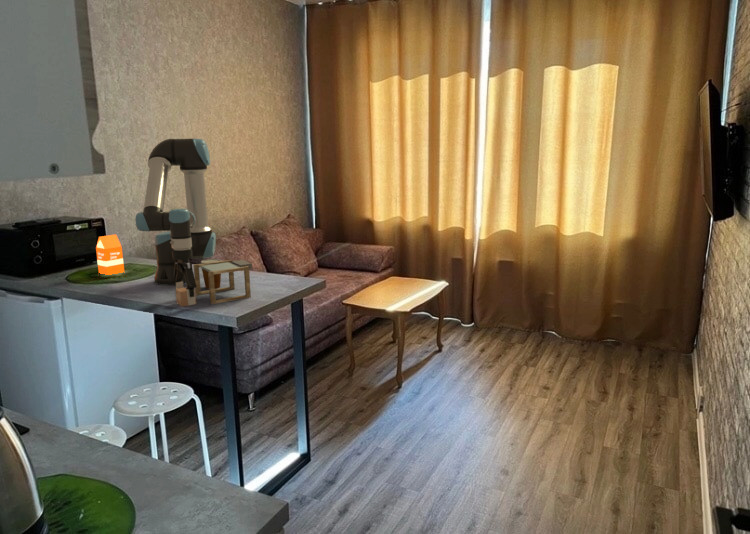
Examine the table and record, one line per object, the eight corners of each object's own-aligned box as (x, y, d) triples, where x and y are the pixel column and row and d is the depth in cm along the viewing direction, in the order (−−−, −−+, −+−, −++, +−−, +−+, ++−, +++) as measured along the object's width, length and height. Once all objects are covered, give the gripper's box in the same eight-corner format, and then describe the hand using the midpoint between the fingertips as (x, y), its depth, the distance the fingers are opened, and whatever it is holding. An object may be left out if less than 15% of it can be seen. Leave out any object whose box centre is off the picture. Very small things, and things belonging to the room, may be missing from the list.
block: (176, 303, 225) (175, 289, 224) (191, 300, 229) (190, 286, 228) (181, 306, 221) (180, 292, 219) (196, 304, 224) (195, 289, 223)
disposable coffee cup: (222, 289, 246) (221, 262, 244) (200, 290, 245) (198, 263, 242) (225, 284, 255) (223, 258, 253) (203, 285, 254) (201, 259, 251)
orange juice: (99, 276, 272) (94, 236, 268) (116, 273, 279) (111, 233, 275) (108, 279, 268) (103, 237, 263) (125, 275, 275) (120, 235, 270)
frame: (195, 294, 238) (193, 264, 235) (233, 288, 248) (231, 259, 245) (211, 304, 223) (209, 272, 221) (250, 297, 233) (249, 266, 230)
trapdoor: (201, 269, 236) (200, 264, 235) (240, 264, 246) (240, 259, 245) (213, 276, 224) (213, 270, 224) (254, 270, 234) (254, 264, 234)
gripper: (162, 245, 228) (167, 296, 232) (182, 254, 208) (186, 309, 212) (181, 243, 232) (185, 293, 236) (202, 251, 212) (206, 306, 217)
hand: (186, 301), depth 224 cm, fingers open, 13 cm apart
